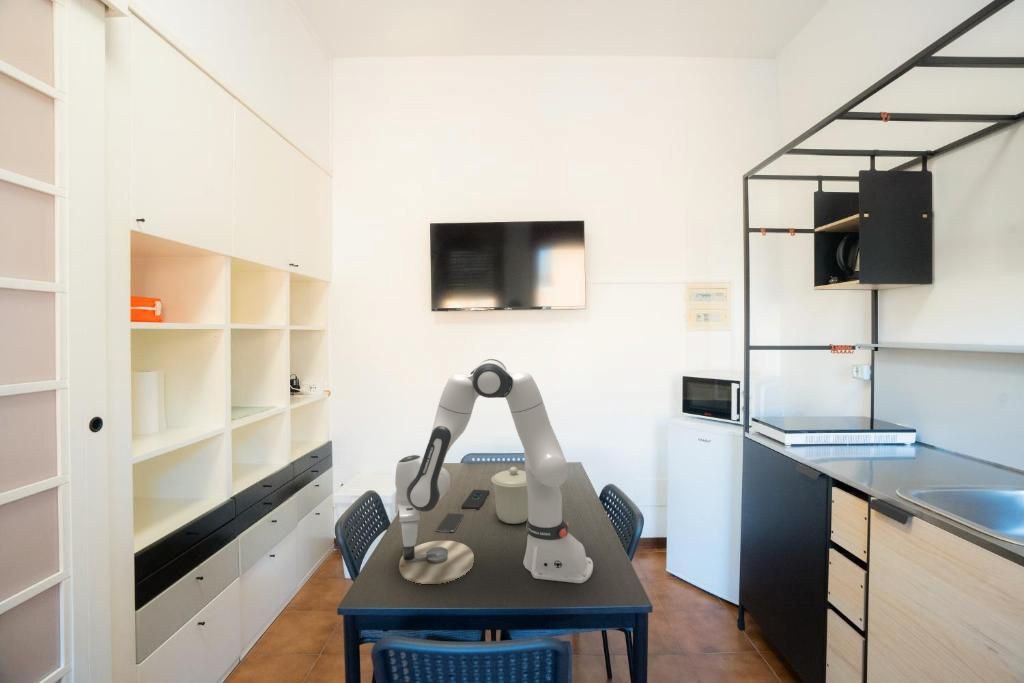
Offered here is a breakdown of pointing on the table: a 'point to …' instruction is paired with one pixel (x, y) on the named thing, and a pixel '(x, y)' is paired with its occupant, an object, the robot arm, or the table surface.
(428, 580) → the base
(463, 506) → the smart home device
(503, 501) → the canister
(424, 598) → the table surface
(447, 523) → the smartphone
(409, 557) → the crank handle
